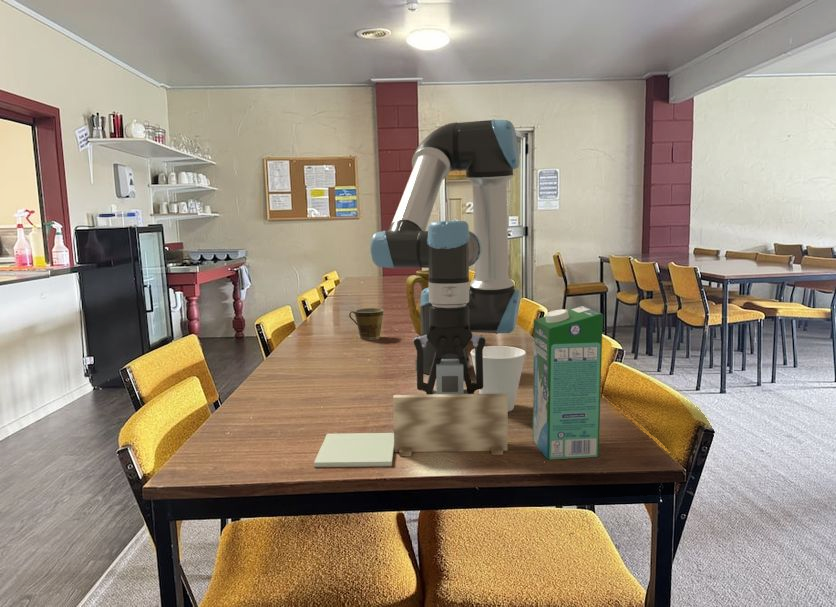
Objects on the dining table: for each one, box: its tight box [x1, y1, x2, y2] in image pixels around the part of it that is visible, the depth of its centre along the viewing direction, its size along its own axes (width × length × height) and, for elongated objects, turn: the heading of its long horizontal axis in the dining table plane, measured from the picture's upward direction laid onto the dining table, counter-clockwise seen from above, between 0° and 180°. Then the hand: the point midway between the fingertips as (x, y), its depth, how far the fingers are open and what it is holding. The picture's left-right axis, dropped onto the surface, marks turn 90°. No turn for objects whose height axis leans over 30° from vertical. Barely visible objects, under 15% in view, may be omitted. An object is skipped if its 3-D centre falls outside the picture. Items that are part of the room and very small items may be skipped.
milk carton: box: [532, 305, 604, 460], centre depth 99 cm, size 9×9×25 cm
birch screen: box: [392, 393, 509, 457], centre depth 101 cm, size 20×5×10 cm, turn 89°
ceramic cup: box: [348, 307, 384, 341], centre depth 199 cm, size 13×10×10 cm
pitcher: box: [405, 269, 429, 337], centre depth 188 cm, size 17×19×25 cm
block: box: [435, 359, 464, 394], centre depth 108 cm, size 5×5×14 cm
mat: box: [313, 432, 395, 468], centre depth 101 cm, size 13×13×1 cm
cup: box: [470, 345, 527, 412], centre depth 123 cm, size 12×12×12 cm
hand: (450, 424), depth 109 cm, fingers closed on block, 5 cm apart
